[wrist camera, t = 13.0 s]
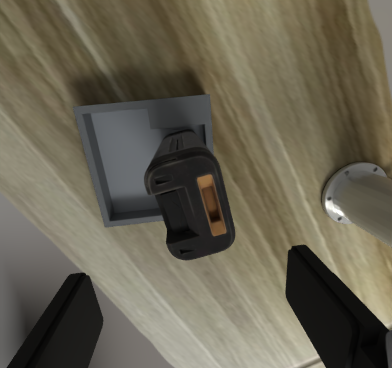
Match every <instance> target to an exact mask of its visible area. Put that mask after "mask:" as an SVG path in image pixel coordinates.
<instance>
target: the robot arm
mask: <svg viewBox="0 0 392 368" xmlns="http://www.w3.org/2000/svg"><path fill="white" fill-rule="evenodd" d="M322 205H323V209H324V211H325V213H326V214H327V215H328V216H329V217H330V218H331V219H333V220H334V221H336V222H338V223H342V224H352V223H354V224H355V225H357V226H359V227H360V228H362V229H363V230H365V231H366V232H368V233H370V234H371V235H373V236H374V237H376V238H377V239H379V240H381V241H382V242H384V243H385V244H387V245H388V246H390V247H392V179H390V178H387V176H386V173H385V172H384V171H383V169H381V168H380V167H379V166H377V165H375V164H372V163H368V162H356V163H352V164H349V165H347V166H345V167H343V168H341V169H340V170H339V171H337V172H336V173H335V174H334V175H333V176H332V177H331V178H330V180H329V181H328V183H327V184H326V186H325V188H324V191H323V195H322ZM285 293H286V298H287V301H288V303H289V304H290V306H291V308H292V309H293V311H294V313H295V315H296V316H297V318H298V320H299V322H300V323H301V325H302V327H303V329H304V330H305V332H306V334H307V336H308V337H309V339H310V341H311V342H312V344H313V346H314V348H315V349H316V351H317V353H318V355H319V356H320V358H321V360H322V362H323V363H324V365H325V367H326V368H392V330H390V331H389V330H388V329H387V328H386V327H385V325H384V324H383V323H382V322H381V321H380V320H379V319H378V318H377V317H376V316H375V315H374V314H373V313H372V312H371V311H370V310H369V309H368V308H367V307H366V306H365V305H364V304H363V303H362V302H361V301H360V300H359V298H358V297H357V296H356V295H355V294H354V293H353V292H352V291H351V290H350V289H349V288H348V287H347V286H346V285H345V284H344V283H343V282H342V281H341V280H340V279H339V278H338V277H337V276H336V275H335V274H334V273H332V272H331V271H330V270H329V269H328V267H327V266H326V265H325V264H324V263H323V262H322V261H321V260H320V259H319V258H318V257H317V256H316V255H315V254H314V253H313V252H312V251H311V250H310V249H309V248H308V247H307V246H306V245H297V246H292V248H291V250H289V251H288V262H287V277H286V292H285ZM102 326H103V316H102V313H101V310H100V307H99V304H98V301H97V298H96V294H95V291H94V288H93V286H92V282H91V279H90V276H89V275H86V274H85V273H76V274H70V275H69V276H68V277H67V279H66V280H65V282H64V283H63V285H62V286H61V288H60V289H59V291H58V292H57V294H56V295H55V297H54V298H53V300H52V301H51V303H50V304H49V306H48V307H47V308H46V310H45V311H44V313H43V314H42V316H41V317H40V319H39V320H38V322H37V323H36V325H35V326H34V328H33V329H32V331H31V332H30V334H29V335H28V337H27V338H26V340H25V341H24V343H23V345H22V346H21V347H20V349H19V350H18V352H17V353H16V355H15V356H14V358H13V359H12V361H11V362H10V364H9V365H8V367H7V368H88V366H89V363H90V360H91V358H92V355H93V352H94V349H95V346H96V343H97V341H98V338H99V335H100V332H101V329H102Z"/></svg>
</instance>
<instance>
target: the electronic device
mask: <svg viewBox="0 0 392 368" xmlns="http://www.w3.org/2000/svg"><path fill="white" fill-rule="evenodd" d="M144 185H145V188H146V191H147V194H148V195H150V196H153V195H155V198H156V201H157V203H158V206H159V209H160V211H161V214H162V217H163V220H164V222H165V225H166V228H167V238H166V244H167V247H168V249H169V251H170V252H171V254H172V255H173V256H174V257H176V258H178V259H181V260H192V259H196V258H200V257H204V256H207V255H211V254H214V253H218V252H221V251H224V250H226V249H227V248H229V247H230V246H231V245H232V244H233V242H234V239H235V227H234V223H233V219H232V215H231V211H230V206H229V202H228V198H227V194H226V190H225V185H224V181H223V177H222V173H221V169H220V166H219V163H218V161H217V159H216V158H215V157H214V155H213V154H212V153H211V151H210V150H209V149H208V148H207V147H206V145H205V144H204V143H203V142H202V140H201V139H200V138H199V137H198V136H197V134H196V133H195V132H194V131H192V130H190V129H186V130H181V131H178V132H174V133H171V134H168V135H166V136H165V137H164V138H163V140H162V142H161V144H160V146H159V147H158V149H157V151H156V153H155V155H154V157H153V159H152V160H151V162H150V164H149V166H148V168H147V170H146V172H145V175H144Z"/></svg>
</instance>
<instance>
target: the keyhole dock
mask: <svg viewBox="0 0 392 368" xmlns="http://www.w3.org/2000/svg"><path fill="white" fill-rule="evenodd" d="M73 110H74V114H75V117H76V121H77V125H78V128H79V132H80V136H81V140H82V143H83V147H84V151H85V155H86V158H87V162H88V166H89V170H90V173H91V177H92V181H93V185H94V188H95V192H96V196H97V200H98V203H99V207H100V211H101V215H102V218H103V222H104V226H105V227H113V226H122V225H130V224H139V223H147V222H155V221H164V220H163V217H162V214H161V211H160V209H159V206H158V203H157V201H156V198H155V195H153V196H150V195H148V194H147V191H146V188H145V185H144V175H145V172H146V170H147V168H148V166H149V164H150V162H151V160H152V159H153V157H154V155H155V153H156V151H157V149H158V147H159V146H160V144H161V142H162V140H163V138H164V137H165V136H166V135H168V134H171V133H174V132H178V131H181V130H186V129H190V130H192V131H194V132H195V133H196V134H197V136H198V137H199V138H200V139H201V140H202V142H203V143H204V144H205V145H206V147H207V148H208V149H209V150H210V151H211V153H212V154H213V155H214V153H213V137H212V121H211V105H210V94H207V95H197V96H186V97H175V98H164V99H153V100H142V101H131V102H120V103H109V104H99V105H88V106H77V107H73Z"/></svg>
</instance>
